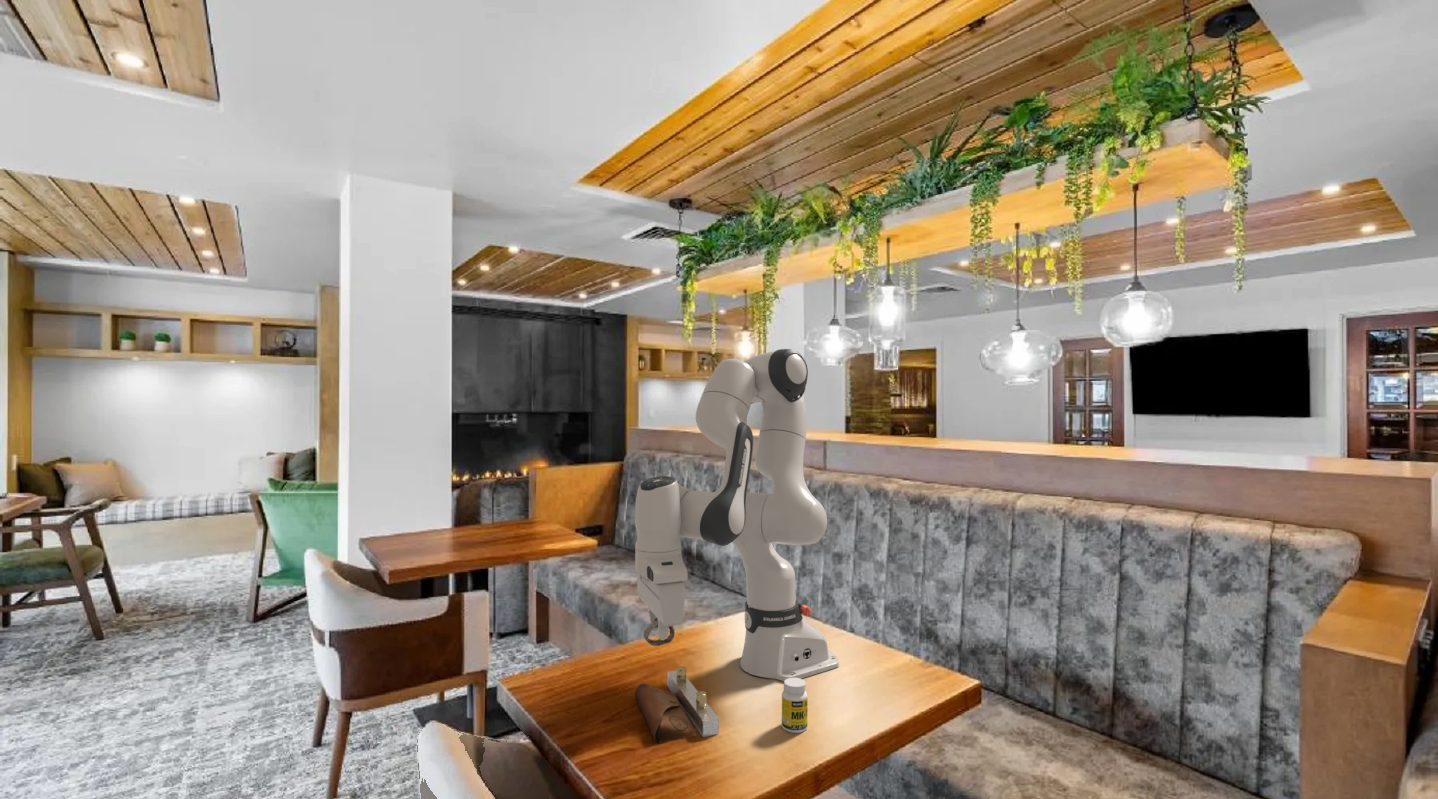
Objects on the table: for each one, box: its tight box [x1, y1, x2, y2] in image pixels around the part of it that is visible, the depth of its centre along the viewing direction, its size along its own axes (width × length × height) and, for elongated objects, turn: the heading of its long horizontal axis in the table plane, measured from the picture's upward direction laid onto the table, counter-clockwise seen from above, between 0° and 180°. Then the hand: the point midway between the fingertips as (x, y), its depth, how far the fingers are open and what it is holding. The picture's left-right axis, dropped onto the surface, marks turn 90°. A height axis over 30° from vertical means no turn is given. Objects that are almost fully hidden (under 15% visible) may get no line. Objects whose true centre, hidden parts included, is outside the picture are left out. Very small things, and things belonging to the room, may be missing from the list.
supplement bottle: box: [781, 678, 809, 734], centre depth 120 cm, size 5×5×8 cm
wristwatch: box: [643, 618, 676, 647], centre depth 124 cm, size 4×6×5 cm, turn 124°
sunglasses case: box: [634, 683, 698, 744], centre depth 124 cm, size 18×7×7 cm
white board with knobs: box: [666, 665, 720, 738], centre depth 127 cm, size 3×22×6 cm, turn 22°
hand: (658, 633), depth 125 cm, fingers closed on wristwatch, 3 cm apart
